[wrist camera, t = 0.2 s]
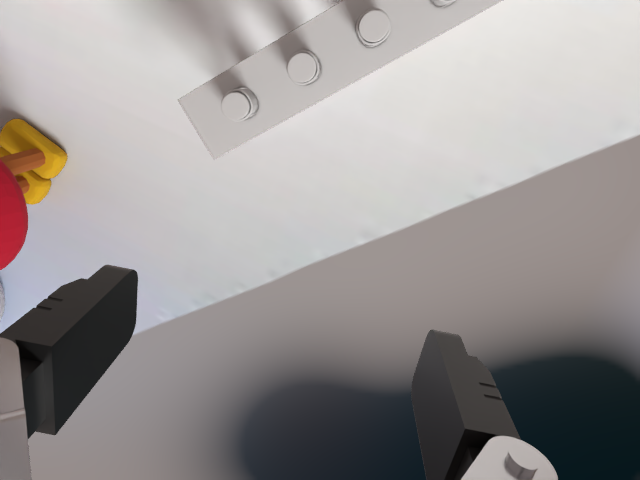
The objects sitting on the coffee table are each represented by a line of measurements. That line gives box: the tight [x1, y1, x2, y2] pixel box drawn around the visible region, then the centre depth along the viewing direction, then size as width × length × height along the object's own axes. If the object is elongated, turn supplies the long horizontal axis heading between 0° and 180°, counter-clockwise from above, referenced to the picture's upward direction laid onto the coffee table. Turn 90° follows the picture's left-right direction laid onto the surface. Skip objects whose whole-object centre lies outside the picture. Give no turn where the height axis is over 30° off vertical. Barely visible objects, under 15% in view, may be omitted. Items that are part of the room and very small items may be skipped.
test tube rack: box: [178, 0, 503, 160], centre depth 30 cm, size 25×4×13 cm, turn 118°
